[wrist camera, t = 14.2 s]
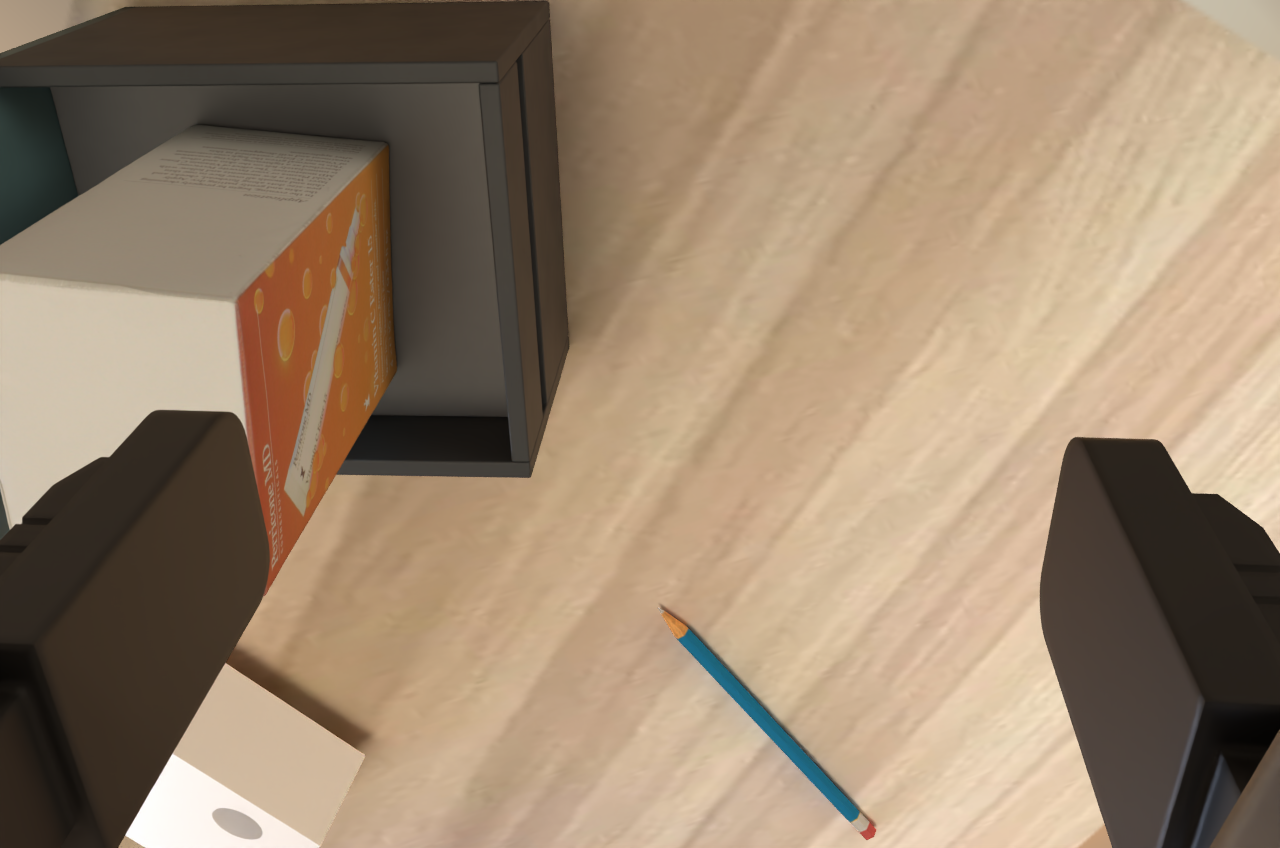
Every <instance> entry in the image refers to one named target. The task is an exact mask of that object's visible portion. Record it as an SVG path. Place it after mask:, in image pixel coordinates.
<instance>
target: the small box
mask: <svg viewBox="0 0 1280 848" xmlns="http://www.w3.org/2000/svg"><path fill="white" fill-rule="evenodd" d="M396 372H397V362H396V352H395V339H394V322H393V300H392V273H391V241H390V197H389V146H388V144H387V143H384V142H378V141H365V140H353V139H342V138H332V137H321V136H310V135H299V134H288V133H278V132H268V131H257V130H247V129H237V128H226V127H216V126H206V125H193V126H191V127H189V128H188V129H186V130H184V131H183V132H181V133H179V134H178V135H176V136H174V137H173V138H171V139H170V140H168V141H166V142H165V143H163V144H161V145H160V146H158V147H157V148H155V149H153V150H152V151H150V152H148V153H147V154H145V155H143V156H142V157H140V158H138V159H137V160H135V161H134V162H132V163H131V164H129V165H128V166H126V167H124V168H122V169H121V170H119V171H118V172H116V173H115V174H113V175H111V176H110V177H108V178H107V179H105V180H104V181H102V182H101V183H100V184H98V185H96V186H95V187H93V188H91V189H90V190H88V191H86V192H85V193H83V194H81V195H79V196H78V197H76V198H75V199H73V200H72V201H70V202H68V203H67V204H65V205H63V206H62V207H60V208H58V209H57V210H55V211H54V212H52V213H50V214H49V215H47V216H46V217H44V218H43V219H41V220H39V221H38V222H36V223H35V224H33V225H31V226H30V227H28V228H27V229H25V230H24V231H22V232H20V233H19V234H17V235H16V236H14V237H12V238H11V239H9V240H8V241H6V242H4V243H3V244H1V245H0V490H1V495H2V500H3V504H4V507H5V511H6V516H7V521H8V525H9V529H11V528H12V527H13V526H14V525H15V524H22V517H23V516H24V515H25V514H26V513H27V512H28V511H29V510H30V508H31V507H32V506H33V505H34V504H35V503H36V502H37V501H38V500H39V499H40V498H41V497H42V496H43V495H44V494H45V493H46V492H47V491H48V490H49V489H50V488H51V487H52V486H53V485H54V484H55V483H57V482H59V481H60V480H62V479H64V478H66V477H67V476H69V475H71V474H72V473H74V472H76V471H77V470H79V469H81V468H83V467H84V466H86V465H88V464H89V463H91V462H93V461H95V460H96V459H98V458H100V457H110V456H111V455H112V454H113V453H114V451H115V450H116V449H117V448H118V447H119V446H120V445H121V444H122V443H123V442H124V441H125V439H126V438H127V437H128V436H129V435H130V434H131V433H132V432H133V431H134V430H135V429H136V427H137V426H138V425H139V424H140V423H141V422H142V421H143V420H144V419H145V418H146V417H147V416H148V415H149V414H150V413H151V412H153V411H155V410H188V411H224V412H232V413H234V414H235V415H237V417H238V418H239V419H240V421H241V422H242V424H243V427H244V429H245V433H246V436H247V441H248V446H249V450H250V455H251V460H252V464H253V469H254V474H255V479H256V483H257V488H258V493H259V497H260V502H261V507H262V512H263V516H264V521H265V526H266V530H267V535H268V541H269V549H270V565H269V575H268V581H267V585H266V589H265V593H264V595H263V596H265V595H266V594H267V592H268V590H269V588H270V586H271V585H272V583H273V581H274V580H275V578H276V576H277V574H278V572H279V571H280V569H281V567H282V565H283V564H284V562H285V560H286V558H287V557H288V555H289V553H290V552H291V550H292V548H293V547H294V545H295V543H296V541H297V540H298V538H299V536H300V535H301V533H302V531H303V530H304V528H305V526H306V525H307V523H308V521H309V520H310V518H311V516H312V514H313V513H314V511H315V509H316V508H317V506H318V504H319V503H320V501H321V499H322V498H323V496H324V494H325V492H326V491H327V489H328V487H329V486H330V484H331V483H332V481H333V479H334V477H335V476H336V474H337V472H338V471H339V469H340V467H341V465H342V464H343V462H344V460H345V458H346V457H347V455H348V453H349V452H350V450H351V448H352V446H353V445H354V443H355V441H356V440H357V438H358V436H359V435H360V433H361V431H362V429H363V428H364V426H365V424H366V423H367V421H368V419H369V418H370V416H371V414H372V413H373V411H374V410H375V408H376V406H377V405H378V403H379V401H380V399H381V398H382V396H383V395H384V393H385V391H386V389H387V388H388V386H389V384H390V382H391V381H392V379H393V377H394V375H395V374H396Z"/></svg>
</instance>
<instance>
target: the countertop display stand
mask: <svg viewBox="0 0 1280 848" xmlns="http://www.w3.org/2000/svg"><path fill="white" fill-rule="evenodd" d="M549 17H550V14H549V2H548V1H516V2H446V3H376V4H307V5H237V6H167V7H124V8H121V9H119V10H116V11H113V12H111V13H108V14H105V15H102V16H100V17H97V18H94V19H92V20H89V21H86V22H84V23H81V24H78V25H75V26H73V27H70V28H67V29H65V30H62V31H59V32H56V33H54V34H51V35H49V36H46V37H43V38H40V39H38V40H35V41H32V42H29V43H27V44H24V45H22V46H19V47H16V48H13V49H11V50H8V51H5V52H2V53H0V245H1V244H3V243H4V242H6V241H8V240H9V239H11V238H12V237H14V236H16V235H17V234H19V233H20V232H22V231H24V230H25V229H27V228H28V227H30V226H31V225H33V224H35V223H36V222H38V221H39V220H41V219H43V218H44V217H46V216H47V215H49V214H50V213H52V212H54V211H55V210H57V209H58V208H60V207H62V206H63V205H65V204H67V203H68V202H70V201H72V200H73V199H75V198H76V197H78V196H79V195H81V194H83V193H85V192H86V191H88V190H90V189H91V188H93V187H95V186H96V185H98V184H100V183H101V182H102V181H104V180H105V179H107V178H108V177H110V176H111V175H113V174H115V173H116V172H118V171H119V170H121V169H122V168H124V167H126V166H128V165H129V164H131V163H132V162H134V161H135V160H137V159H138V158H140V157H142V156H143V155H145V154H147V153H148V152H150V151H152V150H153V149H155V148H157V147H158V146H160V145H161V144H163V143H165V142H166V141H168V140H170V139H171V138H173V137H174V136H176V135H178V134H179V133H181V132H183V131H184V130H186V129H188V128H189V127H191V126H193V125H206V126H216V127H226V128H237V129H247V130H257V131H268V132H278V133H288V134H299V135H310V136H321V137H332V138H342V139H353V140H365V141H378V142H384V143H387V144H388V146H389V197H390V241H391V273H392V300H393V322H394V339H395V352H396V362H397V372H396V374H395V375H394V377H393V379H392V381H391V382H390V384H389V386H388V388H387V389H386V391H385V393H384V395H383V396H382V398H381V399H380V401H379V403H378V405H377V406H376V408H375V410H374V411H373V413H372V414H371V416H370V418H369V419H368V421H367V423H366V424H365V426H364V428H363V429H362V431H361V433H360V435H359V436H358V438H357V440H356V441H355V443H354V445H353V446H352V448H351V450H350V452H349V453H348V455H347V457H346V458H345V460H344V462H343V464H342V465H341V467H340V469H339V471H338V472H337V474H336V475H395V476H457V477H519V478H530V477H531V475H532V472H533V468H534V465H535V462H536V458H537V455H538V451H539V448H540V445H541V441H542V438H543V434H544V431H545V428H546V424H547V421H548V417H549V414H550V411H551V407H552V404H553V400H554V397H555V394H556V390H557V387H558V384H559V380H560V377H561V373H562V370H563V367H564V363H565V360H566V356H567V353H568V350H569V337H568V318H567V301H566V284H565V267H564V250H563V233H562V216H561V199H560V182H559V165H558V149H557V132H556V115H555V98H554V81H553V64H552V47H551V30H550V20H549ZM9 530H10V529H9V525H8V521H7V516H6V511H5V507H4V504H3V500H2V495H1V490H0V540H1V539H2V538H3V537H4V536H5V535H6V534H7V532H8V531H9Z"/></svg>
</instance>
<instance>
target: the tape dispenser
mask: <svg viewBox="0 0 1280 848" xmlns="http://www.w3.org/2000/svg"><path fill="white" fill-rule="evenodd" d="M365 756H366V755H364V754H363V753H361V752H360V751H358V750H357V749H355V748H354V747H352V746H351V745H349V744H348V743H346V742H344V741H343V740H341V739H340V738H338V737H337V736H335V735H334V734H332V733H331V732H329V731H328V730H326V729H325V728H323V727H322V726H320V725H319V724H317V723H316V722H314V721H313V720H311V719H310V718H308V717H307V716H305V715H304V714H302V713H301V712H299V711H297V710H296V709H294V708H293V707H291V706H290V705H288V704H287V703H285V702H284V701H282V700H281V699H279V698H278V697H276V696H275V695H273V694H272V693H270V692H269V691H267V690H266V689H264V688H263V687H261V686H260V685H258V684H257V683H255V682H254V681H252V680H250V679H249V678H247V677H246V676H244V675H243V674H241V673H240V672H238V671H237V670H235V669H234V668H232V667H231V666H229V665H228V664H226V663H225V665H224V666H223V668H222V670H221V671H220V673H219V675H218V677H217V678H216V680H215V682H214V683H213V685H212V687H211V689H210V690H209V692H208V694H207V695H206V697H205V699H204V701H203V702H202V704H201V706H200V707H199V709H198V711H197V713H196V714H195V716H194V718H193V720H192V721H191V723H190V725H189V726H188V728H187V730H186V732H185V733H184V735H183V737H182V738H181V740H180V742H179V744H178V745H177V747H176V749H175V750H174V752H173V754H172V756H171V757H170V759H169V761H168V762H167V764H166V766H165V768H164V769H163V771H162V773H161V774H160V776H159V778H158V780H157V781H156V783H155V785H154V787H153V788H152V790H151V792H150V793H149V795H148V797H147V799H146V800H145V802H144V804H143V805H142V807H141V809H140V811H139V812H138V814H137V816H136V817H135V819H134V821H133V823H132V824H131V826H130V828H129V829H128V831H127V833H126V835H125V836H127V837H129V838H130V839H132V840H134V841H135V842H137V843H139V844H140V845H142V846H144V847H145V848H319V847H320V846H321V845H322V843H323V840H324V838H325V836H326V834H327V832H328V830H329V828H330V826H331V824H332V822H333V820H334V818H335V816H336V814H337V812H338V810H339V808H340V806H341V804H342V802H343V800H344V798H345V796H346V794H347V792H348V790H349V788H350V786H351V784H352V782H353V780H354V778H355V776H356V774H357V772H358V770H359V768H360V766H361V764H362V762H363V760H364V758H365Z"/></svg>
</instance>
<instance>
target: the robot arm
mask: <svg viewBox="0 0 1280 848" xmlns="http://www.w3.org/2000/svg"><path fill="white" fill-rule="evenodd" d="M269 565H270V549H269V541H268V535H267V530H266V526H265V521H264V516H263V512H262V507H261V502H260V497H259V493H258V488H257V483H256V479H255V474H254V469H253V464H252V460H251V455H250V450H249V446H248V441H247V436H246V433H245V429H244V427H243V424H242V422H241V421H240V419H239V418H238V417H237V415H235V414H234V413H232V412H224V411H188V410H155V411H153V412H151V413H150V414H149V415H148V416H147V417H146V418H145V419H144V420H143V421H142V422H141V423H140V424H139V425H138V426H137V427H136V429H135V430H134V431H133V432H132V433H131V434H130V435H129V436H128V437H127V438H126V439H125V441H124V442H123V443H122V444H121V445H120V446H119V447H118V448H117V449H116V450H115V451H114V453H113V454H112V455H111V456H110V457H100V458H98V459H96V460H95V461H93V462H91V463H89V464H88V465H86V466H84V467H83V468H81V469H79V470H77V471H76V472H74V473H72V474H71V475H69V476H67V477H66V478H64V479H62V480H60V481H59V482H57V483H55V484H54V485H53V486H52V487H51V488H50V489H49V490H48V491H47V492H46V493H45V494H44V495H43V496H42V497H41V498H40V499H39V500H38V501H37V502H36V503H35V504H34V505H33V506H32V507H31V508H30V510H29V511H28V512H27V513H26V514H25V515H24V516H23V517H22V524H15V525H14V526H13V527H12V528H11V529H10V530H9V531H8V532H7V534H6V535H5V536H4V537H3V538H2V539H1V540H0V848H118V847H119V845H120V843H121V841H122V840H123V838H124V836H125V835H126V833H127V831H128V829H129V828H130V826H131V824H132V823H133V821H134V819H135V817H136V816H137V814H138V812H139V811H140V809H141V807H142V805H143V804H144V802H145V800H146V799H147V797H148V795H149V793H150V792H151V790H152V788H153V787H154V785H155V783H156V781H157V780H158V778H159V776H160V774H161V773H162V771H163V769H164V768H165V766H166V764H167V762H168V761H169V759H170V757H171V756H172V754H173V752H174V750H175V749H176V747H177V745H178V744H179V742H180V740H181V738H182V737H183V735H184V733H185V732H186V730H187V728H188V726H189V725H190V723H191V721H192V720H193V718H194V716H195V714H196V713H197V711H198V709H199V707H200V706H201V704H202V702H203V701H204V699H205V697H206V695H207V694H208V692H209V690H210V689H211V687H212V685H213V683H214V682H215V680H216V678H217V677H218V675H219V673H220V671H221V670H222V668H223V666H224V665H225V663H226V661H227V659H228V658H229V656H230V654H231V653H232V651H233V649H234V647H235V646H236V644H237V642H238V641H239V639H240V637H241V635H242V634H243V632H244V630H245V628H246V627H247V625H248V623H249V622H250V620H251V618H252V616H253V615H254V613H255V611H256V610H257V608H258V606H259V604H260V602H261V600H262V598H263V595H264V593H265V589H266V585H267V581H268V575H269ZM1040 614H1041V623H1042V629H1043V634H1044V638H1045V642H1046V645H1047V648H1048V651H1049V654H1050V657H1051V660H1052V663H1053V666H1054V669H1055V672H1056V675H1057V678H1058V682H1059V685H1060V688H1061V691H1062V694H1063V697H1064V700H1065V703H1066V706H1067V709H1068V712H1069V715H1070V719H1071V722H1072V725H1073V728H1074V731H1075V734H1076V737H1077V740H1078V743H1079V746H1080V749H1081V752H1082V756H1083V759H1084V762H1085V765H1086V768H1087V771H1088V774H1089V777H1090V780H1091V783H1092V786H1093V789H1094V792H1095V796H1096V799H1097V802H1098V805H1099V808H1100V811H1101V814H1102V817H1103V820H1104V823H1105V826H1106V829H1107V832H1108V836H1109V838H1110V841H1111V845H1112V848H1280V553H1279V552H1278V550H1277V549H1276V547H1275V545H1274V544H1273V542H1272V541H1271V539H1270V538H1269V536H1268V535H1267V533H1266V532H1265V530H1264V529H1263V527H1261V526H1260V525H1259V524H1257V523H1256V522H1255V521H1253V520H1252V519H1250V518H1249V517H1248V516H1246V515H1245V514H1244V513H1242V512H1241V511H1240V510H1238V509H1237V508H1236V507H1234V506H1233V505H1232V504H1230V503H1229V502H1228V501H1226V500H1225V499H1224V498H1222V497H1221V496H1220V495H1218V494H1194V493H1191V492H1190V490H1189V488H1188V486H1187V485H1186V483H1185V481H1184V480H1183V478H1182V476H1181V474H1180V473H1179V471H1178V469H1177V468H1176V466H1175V464H1174V463H1173V461H1172V459H1171V457H1170V456H1169V454H1168V452H1167V451H1166V449H1165V447H1164V446H1163V444H1162V443H1161V442H1159V441H1158V440H1155V439H1120V438H1084V437H1075V438H1073V439H1072V440H1071V441H1070V442H1069V444H1068V446H1067V448H1066V451H1065V454H1064V457H1063V462H1062V467H1061V472H1060V477H1059V482H1058V488H1057V493H1056V498H1055V504H1054V509H1053V514H1052V519H1051V525H1050V530H1049V535H1048V540H1047V546H1046V551H1045V556H1044V562H1043V567H1042V573H1041V582H1040Z"/></svg>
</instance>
